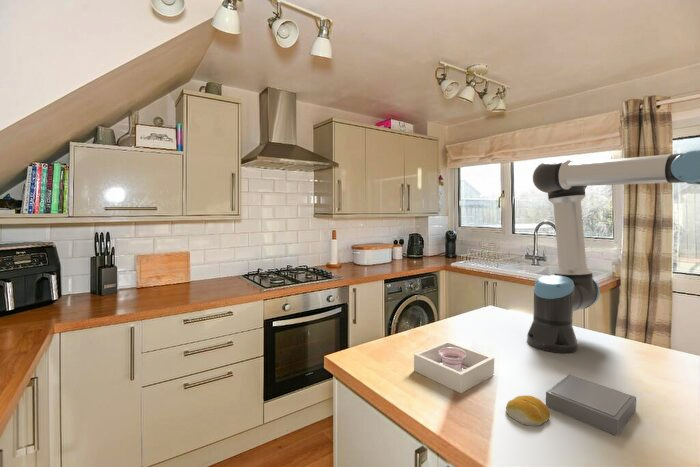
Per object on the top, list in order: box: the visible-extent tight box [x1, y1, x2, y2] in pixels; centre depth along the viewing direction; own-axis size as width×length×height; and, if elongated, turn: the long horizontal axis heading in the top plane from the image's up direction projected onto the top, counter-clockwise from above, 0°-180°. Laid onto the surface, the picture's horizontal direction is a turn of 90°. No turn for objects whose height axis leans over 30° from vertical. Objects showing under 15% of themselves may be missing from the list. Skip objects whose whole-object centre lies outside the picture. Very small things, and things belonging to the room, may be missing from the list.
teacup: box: [439, 347, 469, 372], centre depth 99 cm, size 12×12×6 cm
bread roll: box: [505, 395, 551, 427], centre depth 79 cm, size 8×9×4 cm
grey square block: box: [545, 374, 637, 437], centre depth 81 cm, size 14×14×4 cm
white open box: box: [413, 340, 495, 394], centre depth 99 cm, size 16×16×5 cm
